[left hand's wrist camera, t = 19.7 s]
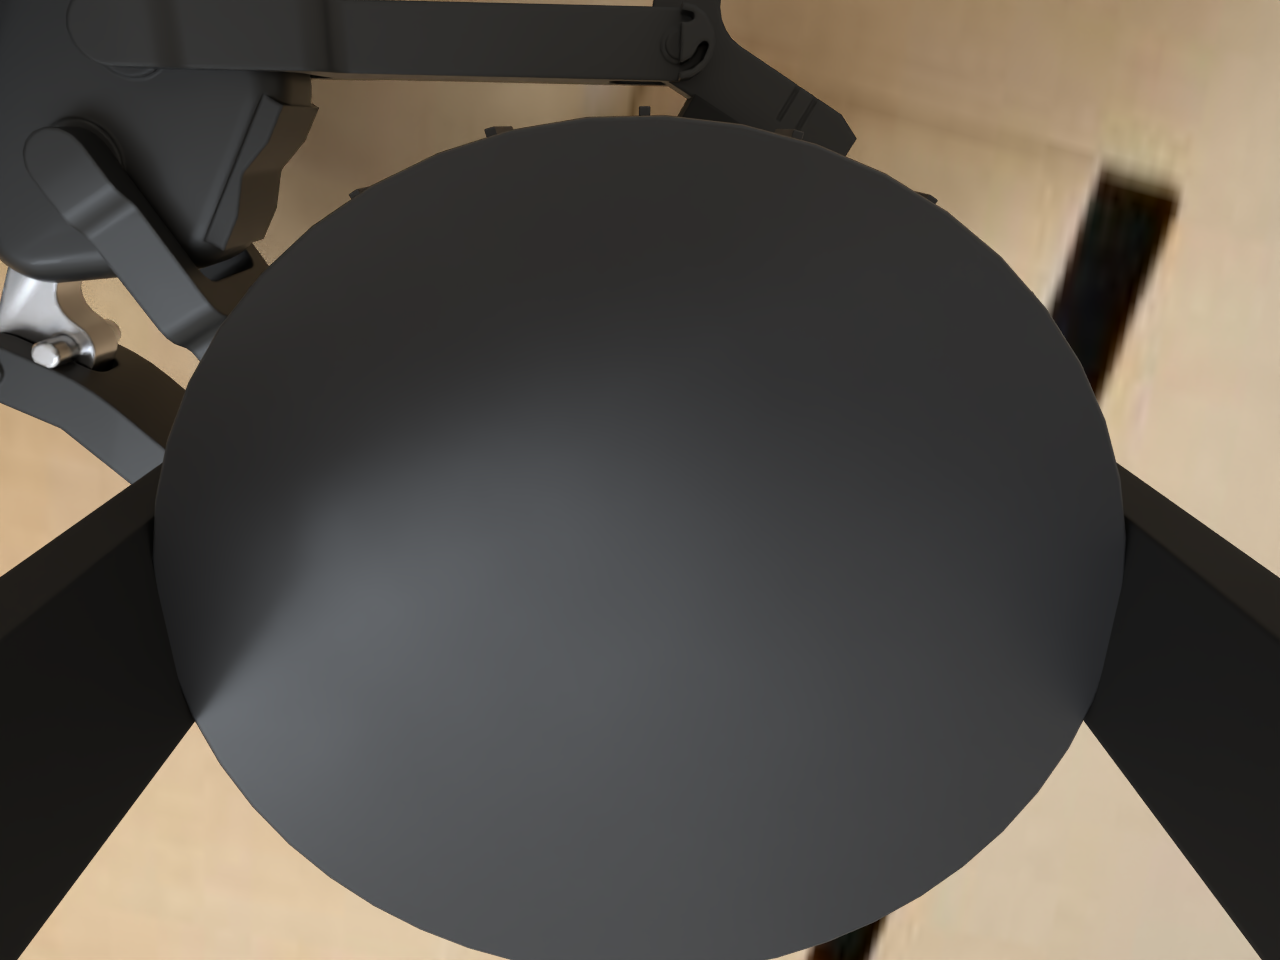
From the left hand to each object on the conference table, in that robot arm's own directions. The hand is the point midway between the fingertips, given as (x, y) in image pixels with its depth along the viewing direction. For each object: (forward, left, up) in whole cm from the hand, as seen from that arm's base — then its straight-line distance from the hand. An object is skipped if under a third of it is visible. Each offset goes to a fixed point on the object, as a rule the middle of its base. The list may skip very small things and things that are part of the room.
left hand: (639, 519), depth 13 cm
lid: (0, 0, +3) cm, 3 cm away
